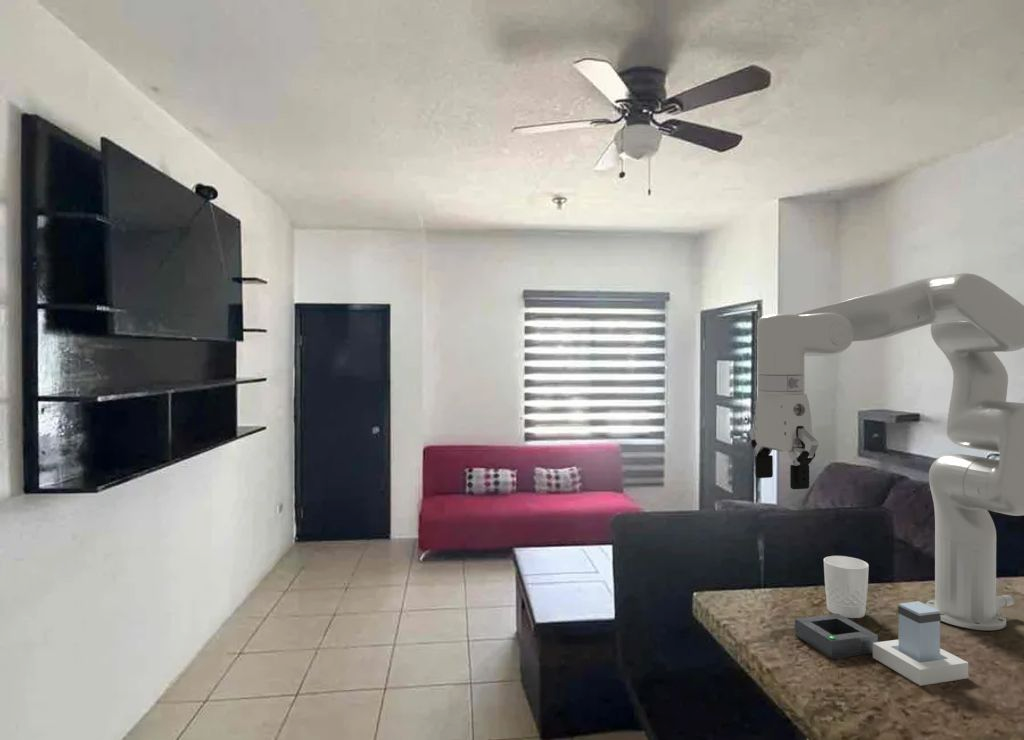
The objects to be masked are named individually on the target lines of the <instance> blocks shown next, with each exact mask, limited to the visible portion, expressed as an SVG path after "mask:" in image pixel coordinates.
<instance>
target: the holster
mask: <svg viewBox="0 0 1024 740" xmlns="http://www.w3.org/2000/svg"><path fill="white" fill-rule="evenodd" d="M872 658H873V659H875V660H876V661H878V662H879V663H881V664H883V665H885V666H887V667H888V668H890V669H892V670H893V671H895V672H896V673H898V674H900V675H901V676H903V677H905V678H906V679H908V680H909V681H911V682H913V683H914V684H916V685H918V686H929V685H933V684H939V683H941V684H942V683H946V682H953V681H958V680H959V681H960V680H966V679H969V662H968V661H966V660H965V659H963V658H960V657H959V656H957V655H955V654H953V653H951V652H949V651H946V650H945V649H942V647H940V660H935V661H928V662H921V663H919V662H918V661H916V660H914V659H912V658H910V657H909V656H907V655H905V654H903V653H901V652H900V651H899V638H898V639H893V640H884V641H878V642H876V643H873V653H872Z"/></svg>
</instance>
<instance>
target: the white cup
mask: <svg viewBox="0 0 1024 740" xmlns="http://www.w3.org/2000/svg"><path fill="white" fill-rule="evenodd" d="M869 567H870V566H869V563H868V562H867V561H864V560H862V559H860V558H856V557H852V556H846V555H831V556H826V557H824V558H823V573H824V587H825V590H824V591H825V595H826V596H825V597H826V599H825V600H826V609H827V611H828V612H830V613H831V614H840V615H842V616H844V617H845V618H847V619H861V618H863V617H865V615H866V608H867V607H866V606H867V605H866V604H867V601H868V600H867V599H868V587H869V586H868V585H869Z"/></svg>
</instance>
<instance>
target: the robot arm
mask: <svg viewBox="0 0 1024 740" xmlns="http://www.w3.org/2000/svg"><path fill="white" fill-rule="evenodd" d="M756 324H757V328H756V330H757V331H756V332H757V334H756V336H757V343H756V344H757V346H756V347H757V349H756V351H757V352H756V353H757V396H756V397H757V398H756V403H755V417H754V426H753V427H751V428H750V429H749V431H748V434H749V436H750V437H749V438H750V440H751V442H750V444H751V446H752V448H753V455H754V457H755V465H754V466H755V473H754V474H755V475H754V476H755V478H757V479H766V478H767V479H769V478H773V477H774V473H773V472H774V467H773V465H774V456H773V455H771V453H772V452H773V451H777V452H782V453H787V454H788V457H789V458H790V460H791V462H792V464H790V469H789V470H790V471H789V473H790V474H789V476H790V484H789V485H790V489H792V490H804V489H805V490H806V489H809V488H810V466H811V465H812V464H813V460H814V458H816V451H817V450H818V447H819V441H818V440H817V439H816V438H815V437H814V436H813V427H812V425H813V424H812V413H811V406H810V402H809V397H808V394H807V393H805V357H811V356H812V357H822V356H825V357H827V356H829V357H830V356H835V355H838V354H841V353H843V352H845V351H846V350H847V349H848V348H850V346H851V345H852V343H853V342H863V341H864V342H866V341H873V340H879V339H887V338H890V337H893V336H896V335H898V334H899V335H900V334H902V333H905V332H908V331H911V330H913V329H914V330H915V329H918V328H920V327H925V326H928V325H930V334H931V337H932V339H933V341H934V344H935V345H936V346H937V347H938V348H939V349H940V351H942V353H943V354H944V356H945V358H947V360H948V362H949V364H950V367H951V369H952V375H953V380H952V381H953V382H952V388H951V389H952V390H951V395H950V402H949V408H948V413H947V420H946V421H947V422H946V435H947V437H948V439H949V440H950V441H951V442H952V443H953V444H954V445H957V446H959V447H963V448H967V449H974V450H979V451H985V452H986V451H987V452H993V453H999V456H998V457H999V458H998V459H995V458H988V457H983V456H977V455H970V454H962V453H961V454H960V453H950V454H945V455H942V456H940V457H937V458H936V459H935V460H934V461H933V462H932V464H931V466H930V468H929V470H928V484H929V487H930V492H931V496H932V501H933V509H934V522H935V523H934V532H935V533H934V546H935V547H934V563H935V564H934V599H930V600H928V601H927V602H926V603H925V604H926V605H928V606H930V607H933V608H935V609H937V610H939V611H940V613H941V621H940V622H943V623H946V624H949V625H952V626H955V627H958V628H959V627H960V628H963V629H969V630H975V631H998V630H1002V629H1004V628H1006V626H1007V618H1006V617H1005V615H1004V614H1003V613H1001V612H1000V609H1001V608H1002V607H1009V606H1013V605H1014V604H1015V600H1014V598H1013V597H1012V596H1011V595H1009V594H1005V595H997V529H996V526H995V523H994V520H993V517H992V516H991V514H990V512H995V513H999V514H1003V515H1008V516H1015V517H1017V516H1018V517H1020V516H1024V403H1023V402H1011V401H1007V396H1008V394H1007V393H1008V386H1009V385H1008V384H1009V375H1008V371H1007V369H1006V367H1005V365H1004V363H1003V362H1002V360H1001V359H1000V358H999V356H998V355H996V353H995V352H1000V353H1001V352H1002V353H1003V352H1004V353H1005V352H1014V351H1019V350H1021V349H1024V304H1023V303H1021V302H1019V301H1018V300H1017V299H1016V298H1015V297H1013V296H1012V295H1010V294H1008V293H1007V292H1006V291H1005V290H1003V289H1002V288H1000V287H999V286H997V285H996V284H995V283H993V282H992V281H990V280H988V279H986V278H984V277H982V276H980V275H977V274H974V273H969V272H965V273H964V272H963V273H962V272H961V273H957V274H950V275H949V274H948V275H942V276H935V277H933V276H932V277H927V278H922V279H917V280H915V281H910V282H907V283H904V284H899V285H898V286H894V287H893V286H892V287H890V288H887V289H883V290H881V291H880V290H879V291H877V292H876V291H875V292H872V293H869V294H865V295H861V296H857V297H853V298H850V299H847V300H844V301H840V302H839V301H838V302H836V303H830V304H828V305H824V306H819V307H816V308H811V309H808V310H805V311H801V312H797V313H794V314H793V313H778V314H777V313H775V314H767V315H766V314H765V315H762V316H761V317H760V318H759V319H758V321H757V323H756ZM798 454H799V455H798ZM989 511H990V512H989Z"/></svg>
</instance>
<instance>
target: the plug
mask: <svg viewBox="0 0 1024 740" xmlns="http://www.w3.org/2000/svg"><path fill="white" fill-rule="evenodd" d="M897 613H898V639H899V651H900V652H901V653H903V654H905V655H907V656H909V657H910V658H912V659H914V660H916V661H918V662H919V663H921V662H928V661H935V660H940V648H941V622H942V621H941V613H940V611H939V610H937V609H935V608H933V607H930V606H928V605H926V603H924V602H922V601H919V600H917V601H909V602H901V603H898V605H897Z"/></svg>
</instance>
